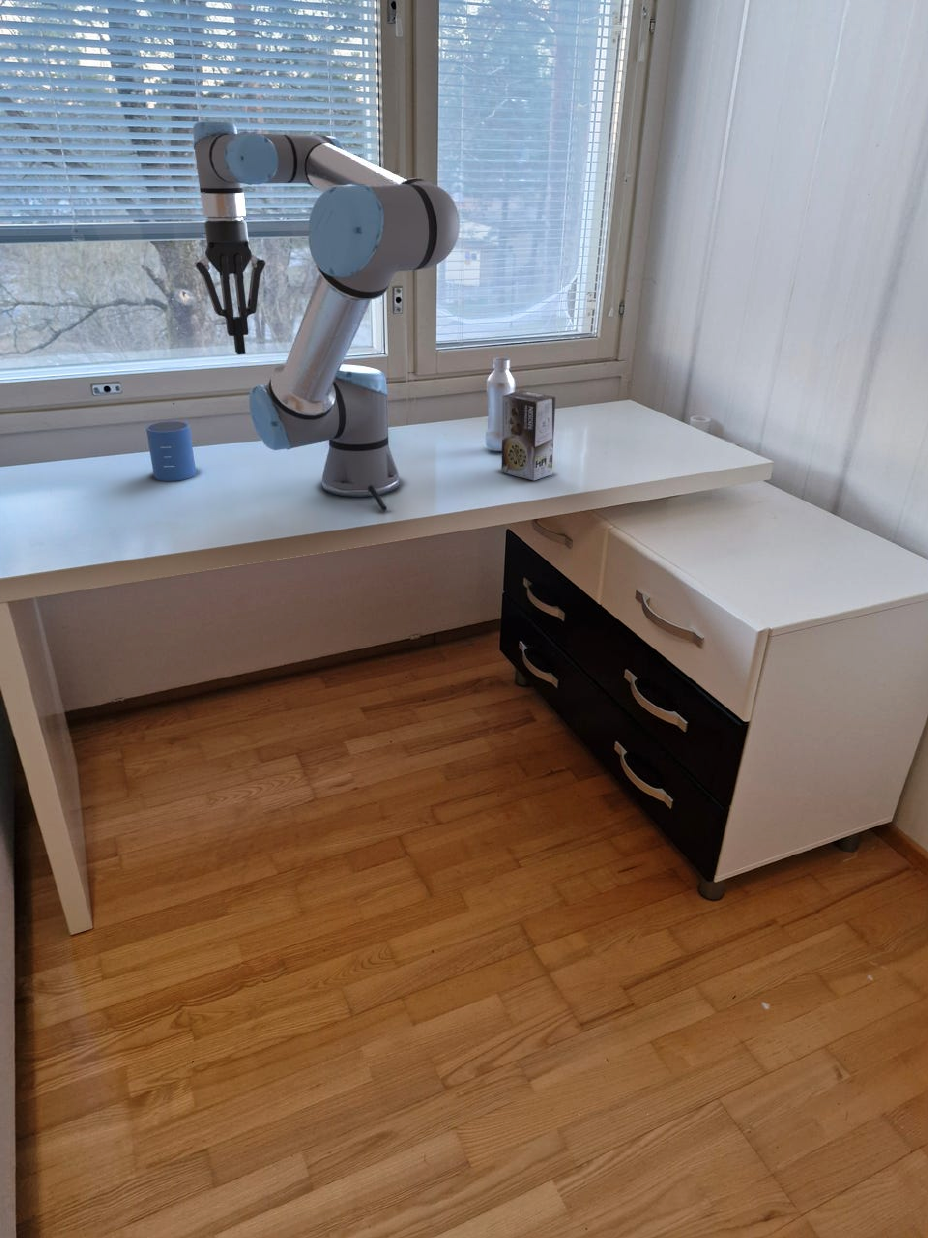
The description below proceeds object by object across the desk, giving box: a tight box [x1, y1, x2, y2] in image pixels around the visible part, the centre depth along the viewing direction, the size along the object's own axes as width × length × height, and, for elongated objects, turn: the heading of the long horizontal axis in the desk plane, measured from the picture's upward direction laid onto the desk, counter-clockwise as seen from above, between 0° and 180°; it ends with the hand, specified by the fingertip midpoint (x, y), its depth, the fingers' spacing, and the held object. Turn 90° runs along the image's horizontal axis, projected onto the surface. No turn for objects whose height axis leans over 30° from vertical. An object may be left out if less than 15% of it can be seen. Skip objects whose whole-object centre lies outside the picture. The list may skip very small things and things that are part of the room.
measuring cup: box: [145, 420, 197, 482], centre depth 177 cm, size 10×8×8 cm
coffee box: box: [500, 389, 556, 481], centre depth 177 cm, size 9×6×16 cm
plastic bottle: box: [485, 357, 517, 452], centre depth 191 cm, size 6×7×20 cm
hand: (240, 352), depth 169 cm, fingers closed
